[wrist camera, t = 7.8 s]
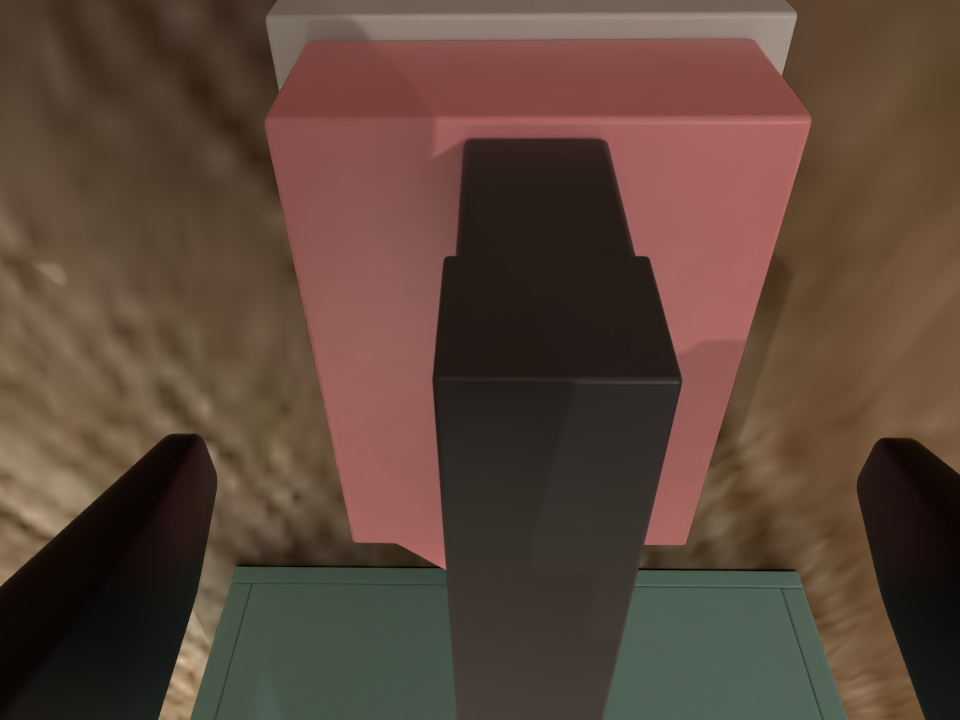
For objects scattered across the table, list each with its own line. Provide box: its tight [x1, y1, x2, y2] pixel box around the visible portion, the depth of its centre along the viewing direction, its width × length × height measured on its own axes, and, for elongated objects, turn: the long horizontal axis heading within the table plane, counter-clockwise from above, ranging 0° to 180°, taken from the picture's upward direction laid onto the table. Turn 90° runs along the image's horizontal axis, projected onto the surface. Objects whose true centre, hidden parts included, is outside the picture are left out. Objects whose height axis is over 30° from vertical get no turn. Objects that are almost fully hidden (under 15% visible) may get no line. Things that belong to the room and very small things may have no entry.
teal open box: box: [190, 567, 848, 720], centre depth 21 cm, size 15×7×5 cm, turn 91°
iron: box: [264, 0, 812, 720], centre depth 12 cm, size 12×7×7 cm, turn 1°
